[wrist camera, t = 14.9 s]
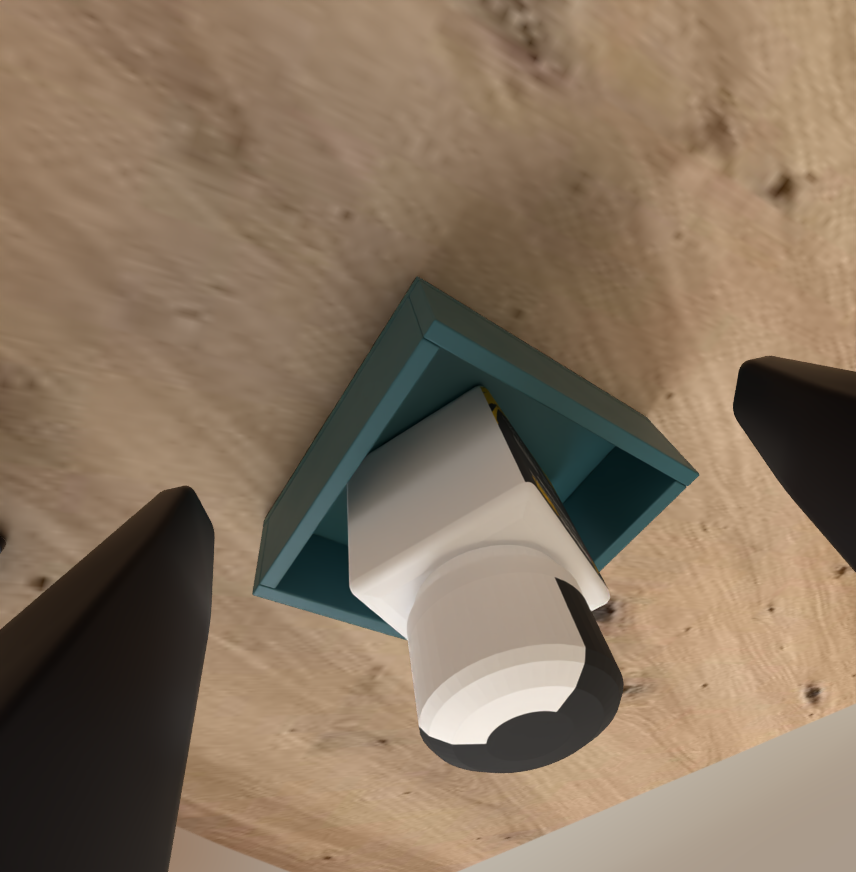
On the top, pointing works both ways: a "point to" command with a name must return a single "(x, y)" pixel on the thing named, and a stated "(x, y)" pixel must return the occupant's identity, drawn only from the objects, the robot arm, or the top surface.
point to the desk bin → (427, 393)
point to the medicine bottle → (483, 590)
